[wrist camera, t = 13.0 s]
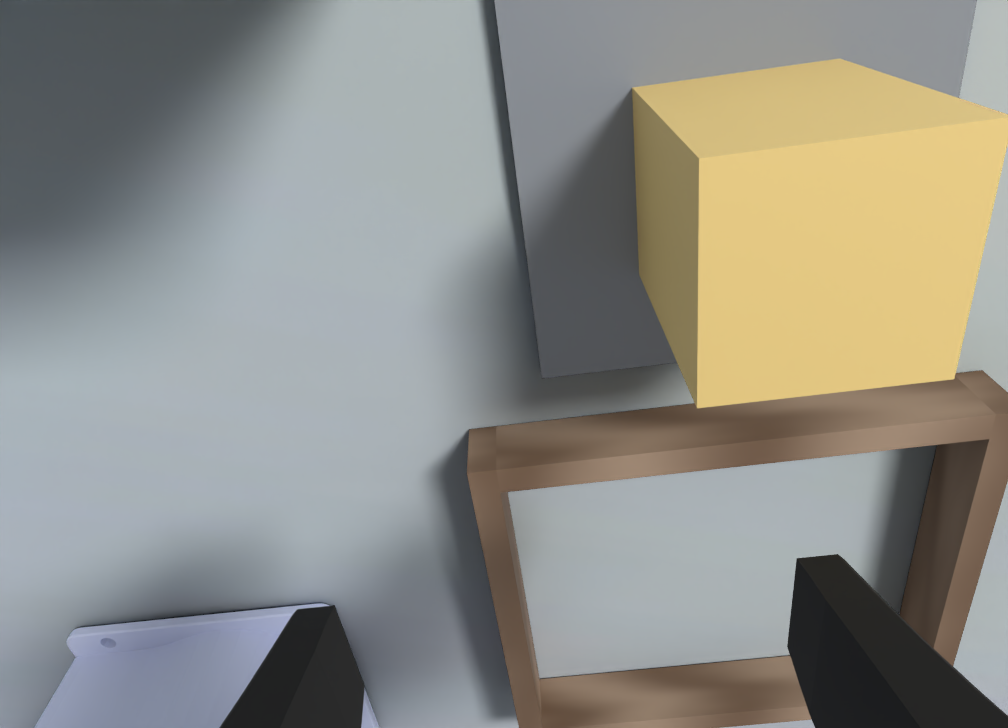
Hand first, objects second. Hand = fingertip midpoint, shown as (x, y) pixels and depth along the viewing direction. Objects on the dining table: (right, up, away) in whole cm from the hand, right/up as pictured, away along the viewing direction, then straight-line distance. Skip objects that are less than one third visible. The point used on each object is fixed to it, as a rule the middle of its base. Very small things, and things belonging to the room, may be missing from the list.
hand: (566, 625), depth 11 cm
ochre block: (+4, +9, +5) cm, 11 cm away
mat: (+4, +9, +6) cm, 11 cm away
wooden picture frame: (+6, -2, +12) cm, 14 cm away
